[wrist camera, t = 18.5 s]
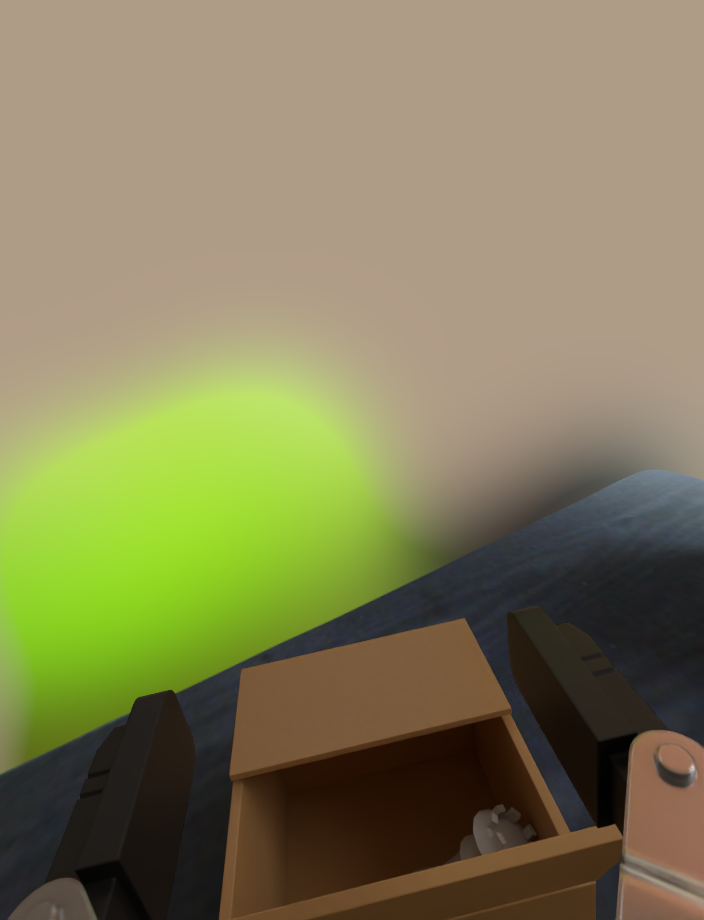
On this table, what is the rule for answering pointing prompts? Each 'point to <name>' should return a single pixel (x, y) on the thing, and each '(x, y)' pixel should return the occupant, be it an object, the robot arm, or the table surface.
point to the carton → (377, 772)
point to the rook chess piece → (493, 834)
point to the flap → (469, 882)
